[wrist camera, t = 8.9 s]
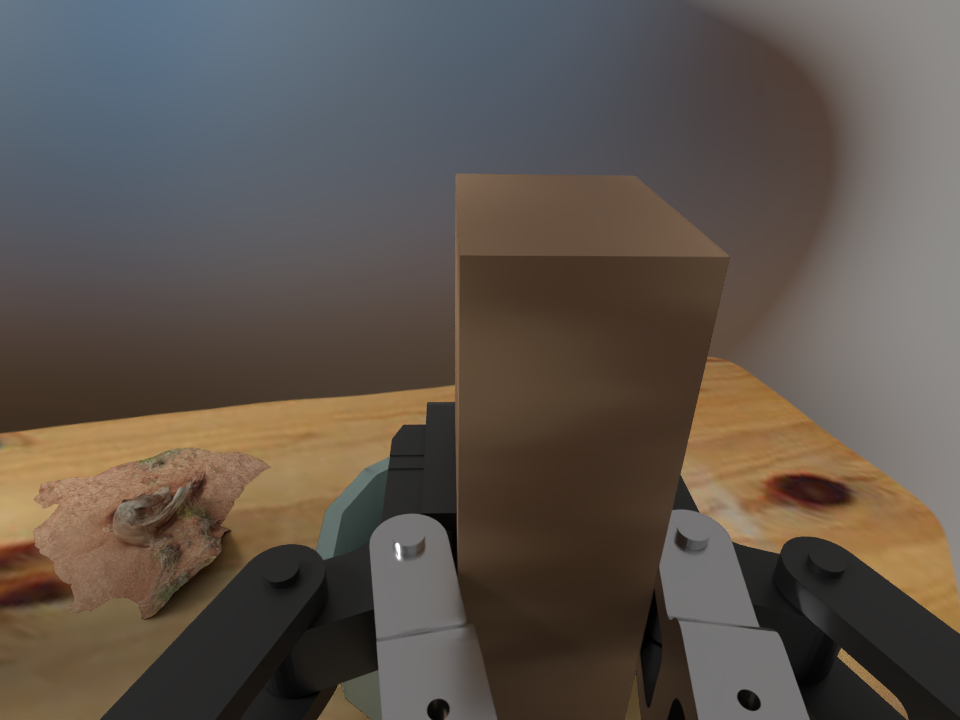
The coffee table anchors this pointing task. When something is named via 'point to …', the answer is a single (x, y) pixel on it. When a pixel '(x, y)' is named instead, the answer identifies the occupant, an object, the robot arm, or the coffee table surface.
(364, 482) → the slotted round holder
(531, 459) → the tall wooden post
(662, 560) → the robot arm
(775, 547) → the coffee table surface
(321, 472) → the coffee table surface
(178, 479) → the clay slab
